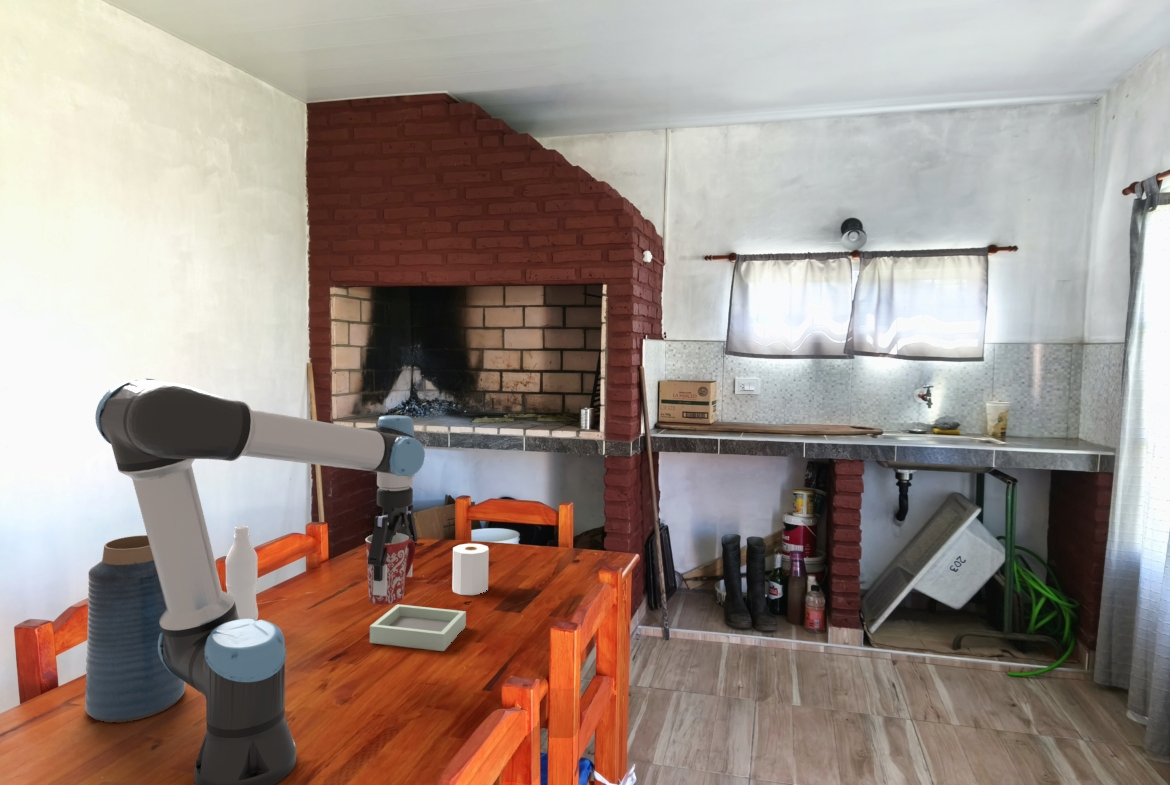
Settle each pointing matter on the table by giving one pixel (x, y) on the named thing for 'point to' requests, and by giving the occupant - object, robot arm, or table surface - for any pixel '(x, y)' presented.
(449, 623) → the tray
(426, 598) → the table surface
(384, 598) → the mug
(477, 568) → the toilet paper
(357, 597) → the table surface
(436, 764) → the table surface
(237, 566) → the water bottle
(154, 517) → the robot arm
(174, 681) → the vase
